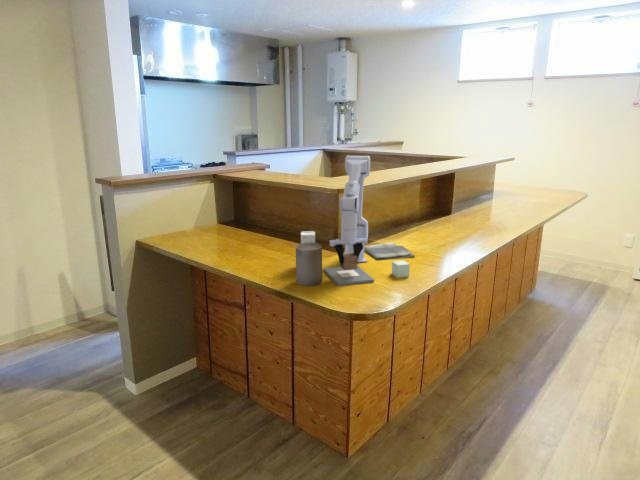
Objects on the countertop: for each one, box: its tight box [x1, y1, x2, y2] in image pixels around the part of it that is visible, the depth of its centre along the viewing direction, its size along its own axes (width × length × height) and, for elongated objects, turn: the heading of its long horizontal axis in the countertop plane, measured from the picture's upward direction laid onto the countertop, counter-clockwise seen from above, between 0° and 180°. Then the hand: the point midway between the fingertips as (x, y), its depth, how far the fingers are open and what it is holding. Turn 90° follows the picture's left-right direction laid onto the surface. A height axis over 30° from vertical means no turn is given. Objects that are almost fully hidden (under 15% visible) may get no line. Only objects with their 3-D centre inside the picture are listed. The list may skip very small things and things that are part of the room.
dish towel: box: [364, 241, 416, 261], centre depth 203 cm, size 19×18×3 cm
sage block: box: [391, 260, 411, 279], centre depth 174 cm, size 5×5×5 cm
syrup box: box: [300, 230, 316, 244], centre depth 182 cm, size 6×6×14 cm
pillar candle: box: [295, 242, 323, 287], centre depth 165 cm, size 10×10×15 cm
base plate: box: [323, 265, 375, 286], centre depth 173 cm, size 18×14×1 cm
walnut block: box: [339, 252, 358, 270], centre depth 171 cm, size 5×5×5 cm
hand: (348, 263), depth 172 cm, fingers closed on walnut block, 5 cm apart
